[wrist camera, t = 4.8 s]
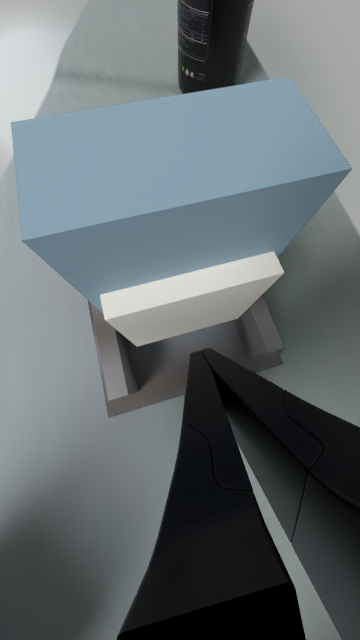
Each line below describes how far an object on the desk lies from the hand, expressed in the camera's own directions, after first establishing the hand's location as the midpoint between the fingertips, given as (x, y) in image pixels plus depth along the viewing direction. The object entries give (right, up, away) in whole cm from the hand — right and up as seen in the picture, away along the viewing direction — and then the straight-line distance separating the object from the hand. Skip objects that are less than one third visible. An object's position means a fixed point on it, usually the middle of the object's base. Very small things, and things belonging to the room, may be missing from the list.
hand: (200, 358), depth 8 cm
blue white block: (-1, +2, +6) cm, 7 cm away
